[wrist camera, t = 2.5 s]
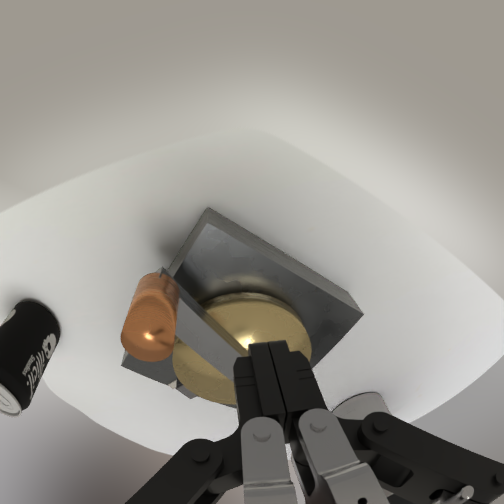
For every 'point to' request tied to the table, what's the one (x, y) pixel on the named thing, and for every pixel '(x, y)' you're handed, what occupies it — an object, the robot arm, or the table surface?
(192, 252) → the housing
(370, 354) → the table surface
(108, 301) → the table surface
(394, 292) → the table surface
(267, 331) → the gold plate with handle
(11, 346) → the beverage can
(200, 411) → the table surface
